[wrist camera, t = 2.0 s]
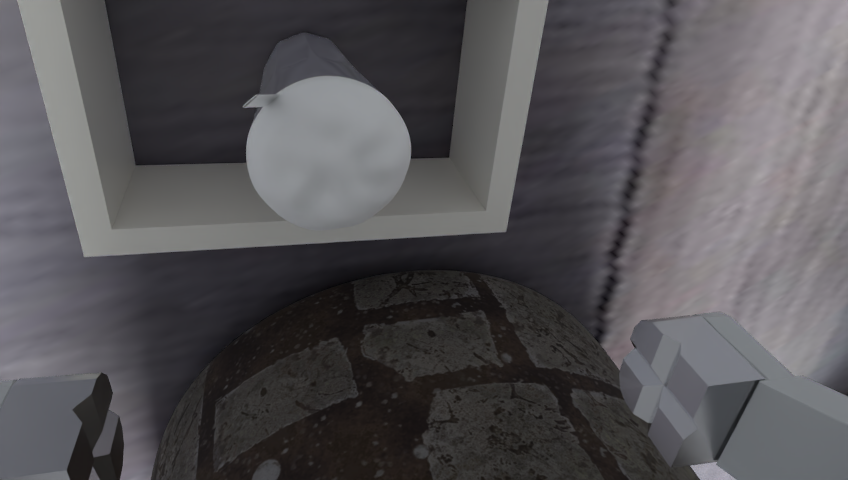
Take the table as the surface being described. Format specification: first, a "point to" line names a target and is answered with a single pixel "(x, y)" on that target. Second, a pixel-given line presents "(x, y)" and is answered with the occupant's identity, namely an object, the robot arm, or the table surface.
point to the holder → (230, 182)
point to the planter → (412, 392)
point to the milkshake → (323, 138)
